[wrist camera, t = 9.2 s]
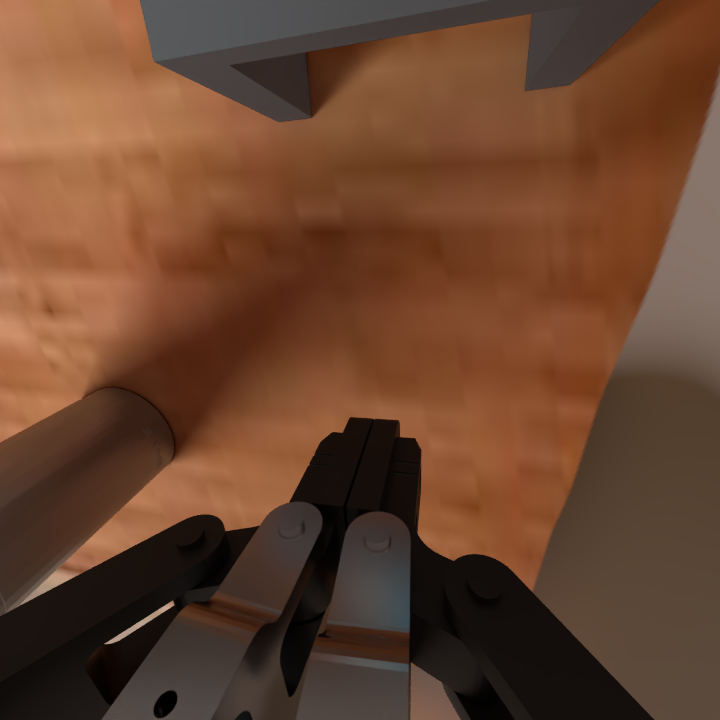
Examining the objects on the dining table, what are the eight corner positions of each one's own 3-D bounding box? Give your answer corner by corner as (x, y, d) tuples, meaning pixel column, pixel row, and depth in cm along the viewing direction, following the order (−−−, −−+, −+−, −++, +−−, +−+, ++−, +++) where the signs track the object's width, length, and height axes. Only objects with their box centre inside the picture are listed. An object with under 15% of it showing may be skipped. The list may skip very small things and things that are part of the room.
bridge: (569, 85, 17) (700, -38, 8) (278, 121, 20) (154, 61, 12) (581, 2, 16) (748, -242, 7) (270, 55, 19) (124, -66, 10)
